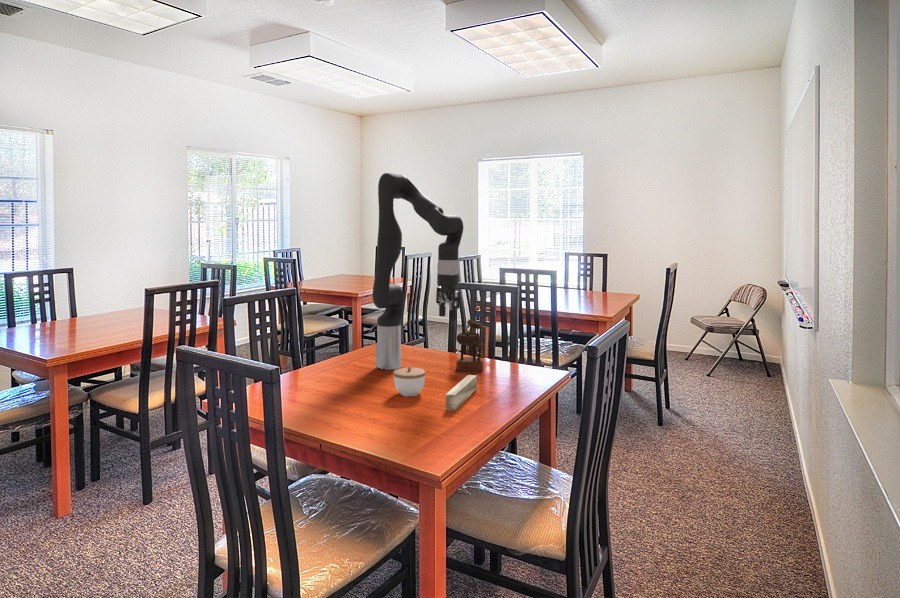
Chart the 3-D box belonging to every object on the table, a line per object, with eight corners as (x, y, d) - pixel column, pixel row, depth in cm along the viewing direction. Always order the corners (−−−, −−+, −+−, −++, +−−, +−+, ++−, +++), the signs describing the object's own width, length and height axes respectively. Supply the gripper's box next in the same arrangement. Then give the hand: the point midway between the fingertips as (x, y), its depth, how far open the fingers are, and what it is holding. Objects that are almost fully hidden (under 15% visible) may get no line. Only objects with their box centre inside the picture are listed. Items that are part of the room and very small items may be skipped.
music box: (487, 365, 232) (487, 317, 228) (487, 375, 221) (487, 324, 217) (449, 364, 233) (449, 316, 229) (447, 374, 222) (447, 324, 218)
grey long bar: (445, 410, 177) (445, 394, 177) (468, 388, 200) (468, 374, 199) (455, 411, 176) (455, 395, 176) (476, 389, 199) (476, 375, 198)
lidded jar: (393, 389, 199) (393, 363, 198) (424, 389, 200) (424, 362, 198) (393, 399, 188) (393, 371, 187) (426, 398, 189) (426, 370, 188)
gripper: (430, 271, 207) (429, 315, 209) (447, 275, 194) (446, 322, 196) (448, 270, 210) (448, 314, 212) (466, 274, 197) (466, 321, 199)
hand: (447, 318), depth 204 cm, fingers open, 8 cm apart
